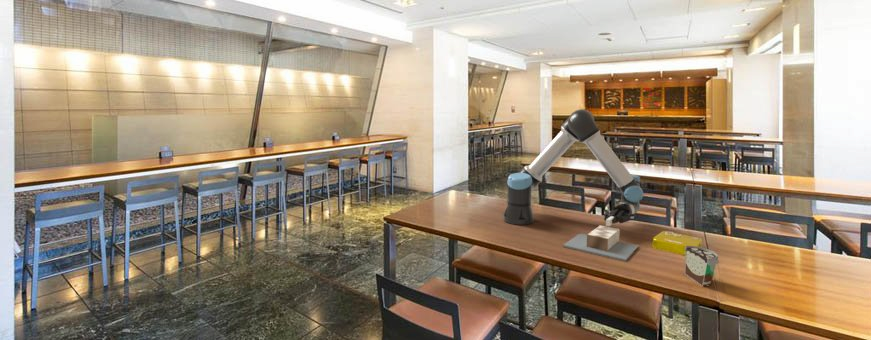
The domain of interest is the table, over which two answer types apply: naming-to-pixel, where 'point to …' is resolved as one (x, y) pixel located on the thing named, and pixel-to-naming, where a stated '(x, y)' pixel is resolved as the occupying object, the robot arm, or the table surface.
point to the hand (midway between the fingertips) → (607, 222)
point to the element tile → (675, 242)
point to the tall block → (603, 238)
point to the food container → (700, 264)
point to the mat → (616, 251)
